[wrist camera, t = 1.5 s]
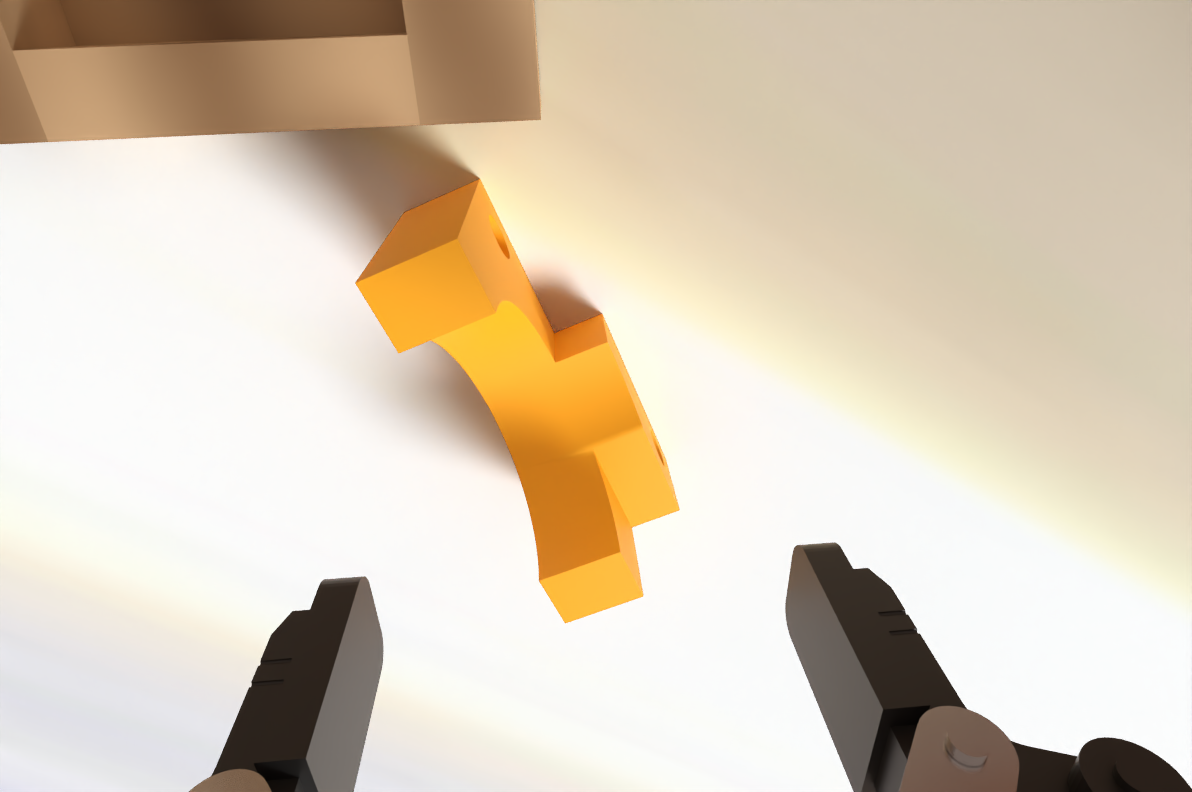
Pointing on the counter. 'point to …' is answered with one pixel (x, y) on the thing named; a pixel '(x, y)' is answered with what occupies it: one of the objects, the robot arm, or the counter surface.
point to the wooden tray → (260, 66)
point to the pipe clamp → (531, 392)
